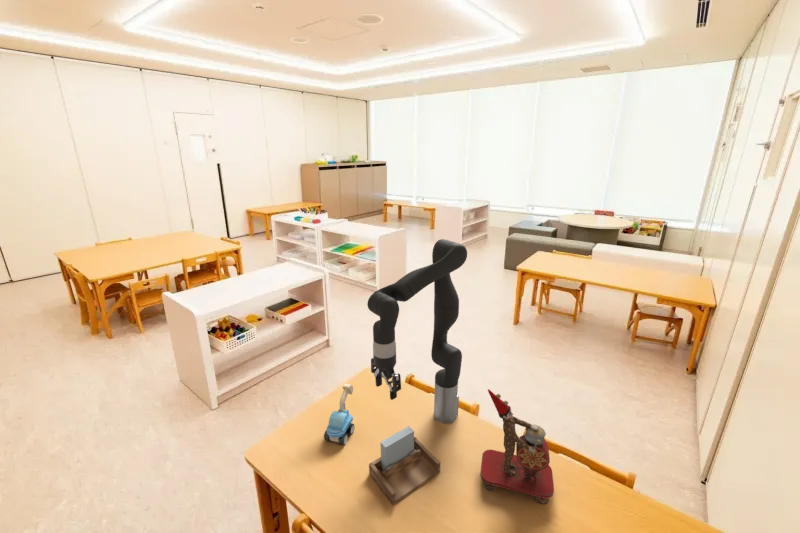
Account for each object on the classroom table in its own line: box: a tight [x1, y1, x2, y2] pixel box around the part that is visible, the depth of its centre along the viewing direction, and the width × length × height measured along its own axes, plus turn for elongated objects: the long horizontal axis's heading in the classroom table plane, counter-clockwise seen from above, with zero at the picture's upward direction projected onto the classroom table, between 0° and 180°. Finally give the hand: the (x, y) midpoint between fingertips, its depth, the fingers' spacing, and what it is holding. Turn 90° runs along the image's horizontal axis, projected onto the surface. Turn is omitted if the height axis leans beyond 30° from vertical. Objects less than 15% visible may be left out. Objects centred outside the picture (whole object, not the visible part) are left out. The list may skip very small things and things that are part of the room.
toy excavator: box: [323, 383, 355, 446], centre depth 140 cm, size 9×17×17 cm, turn 161°
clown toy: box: [479, 389, 555, 505], centre depth 115 cm, size 13×23×35 cm, turn 73°
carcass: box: [368, 436, 441, 506], centre depth 124 cm, size 20×14×5 cm
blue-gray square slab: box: [380, 425, 415, 471], centre depth 125 cm, size 12×3×12 cm, turn 126°
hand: (385, 391), depth 123 cm, fingers open, 8 cm apart
